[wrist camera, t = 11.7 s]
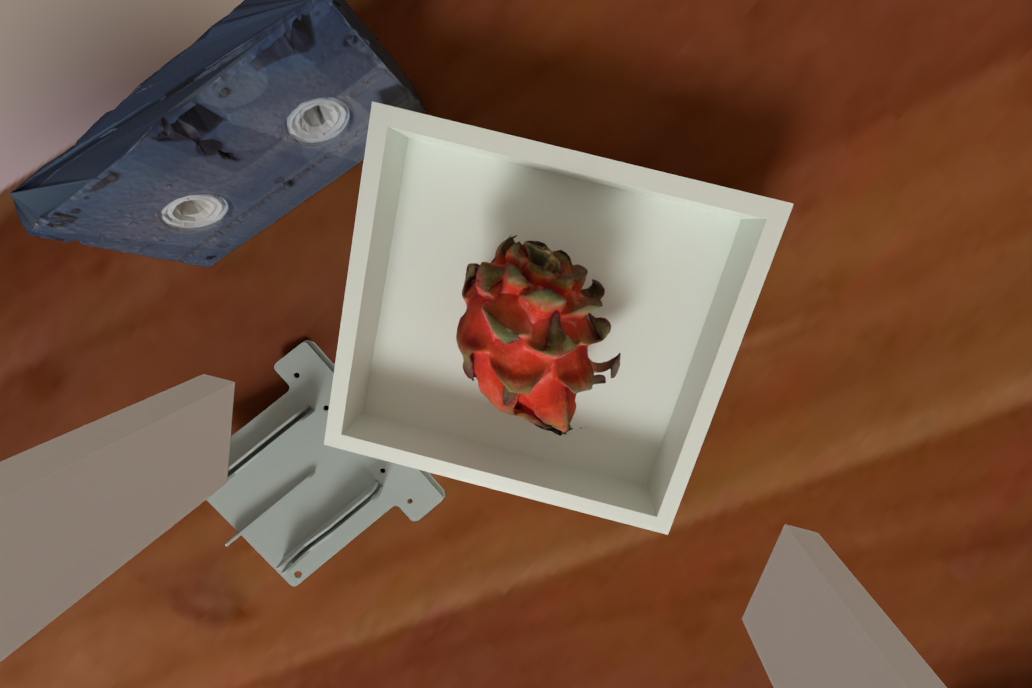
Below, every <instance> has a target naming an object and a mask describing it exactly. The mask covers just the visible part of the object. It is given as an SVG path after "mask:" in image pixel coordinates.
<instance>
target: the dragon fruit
mask: <svg viewBox="0 0 1032 688" xmlns="http://www.w3.org/2000/svg"><path fill="white" fill-rule="evenodd" d="M510 236H511V235H510ZM510 236H509V238H507V239H506V240H505V241H503V242H502V243H501V244H500V245H499V246H498V248H497V250H496V253H495V257H494V259H493V260H492V261H491V263H488V262H482V263H481V264H480V265H479V264H477V263H470V264H468V266H467V269H466V278H465V282H464V286H463V289H462V297H463V299H464V301H465V302H466V305H467V309H466V312H465V313H464V315H463V316H462V317H461V318H460V320H459V324H458V327H457V334H456V340H457V344H458V348H459V350H460V352H461V354H462V355H463V359H464V361H463V370H464V373H465V374H466V376H467V377H468V378H470V379H471V380H472V381H474V377H475V378H476V379H477V380H478V386H479V389H480V391H481V393H482V394H484V395H485V396H486V397H487V399H488V400H489V401H490V402H491V404H492V405H493V406H494V407H495V408H497V409H498V410H500V411H502V412H504V413H506V414H509V415H514V416H519V417H522V418H524V419H525V420H528V421H529V422H530V423H533V424H534V425H535V426H537V427H539V428H541V429H544V430H547V431H552V432H553V433H555V434H557V435H559V436H561V435H562V434H564V435H565V434H566V433H567V432H568V431H570V430H572V429H573V428H570V427H571V426H570V422H571V420H572V418H573V416H574V413H575V410H576V402H575V399H576V394H577V393H579V392H583V391H587V390H591V389H592V386H593V385H594V384H603V383H606V377H605V376H604V375H600V374H598V375H594V373H600V372H605V371H607V370H609V369H611V378H614V377H615V376H616V374H617V372H618V369H619V367H620V356H621V354H620V353H619V354H618V355H617V356H616V357H614V358H612V359H611V360H609V361H607V362H603V363H596V362H592V361H591V360H590V359H589V357H588V349H587V347H588V346H589V345H591V344H594V343H598V342H601V341H603V340H604V339H605V338H606V337H607V335H608V334H609V333H610V330H611V324H610V322H609V321H608V320H607V319H606V318H602V317H599V318H595V317H594V316H592V315H591V314H590V312H591V311H593V310H594V309H596V308H600V307H602V306H603V305H602V301H601V298H602V297H603V296H604V294H605V288H604V287H603V285H602V284H601V283H600V282H598V281H597V280H594V279H592V282H593V283H592V285H591V286H590V287H589V288H587V289H582V287H583V285H584V283H585V280H586V275H587V274H588V270H587V269H586V268H585V267H583V266H581V265H578V264H577V265H572V262H571V258H570V256H569V255H568V254H567V253H566V252H564V251H563V250H558V251H553V252H552V251H551V250H550V248H548V247H547V245H546V244H545V243H542V242H540V241H525V242H524V244H523V245H522V244H521V243H520V241H519V242H516V243H515V241H514V240H513V238H515V237H516V236H517V235H516V236H513V237H510ZM587 314H588V316H587ZM588 317H589V319H588ZM552 426H553V427H552ZM585 428H586V427H585ZM580 429H582V428H580ZM569 434H570V433H569Z"/></svg>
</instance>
